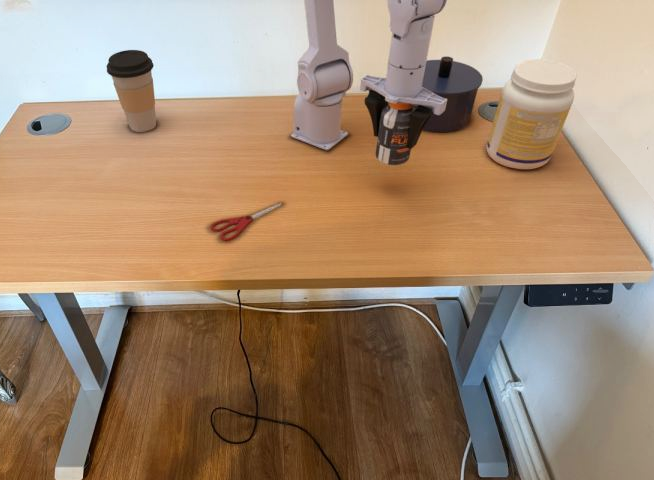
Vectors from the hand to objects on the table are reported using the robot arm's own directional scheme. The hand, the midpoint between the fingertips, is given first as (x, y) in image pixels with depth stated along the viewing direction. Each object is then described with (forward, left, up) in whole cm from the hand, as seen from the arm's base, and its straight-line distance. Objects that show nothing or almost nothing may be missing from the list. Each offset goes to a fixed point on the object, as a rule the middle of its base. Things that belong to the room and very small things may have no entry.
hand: (394, 139), depth 92 cm
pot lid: (-5, +30, -2) cm, 31 cm away
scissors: (-15, -22, -11) cm, 29 cm away
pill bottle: (0, 0, -4) cm, 4 cm away
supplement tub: (+15, +25, -11) cm, 31 cm away
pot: (-5, +30, -10) cm, 32 cm away
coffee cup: (-55, -11, -11) cm, 57 cm away
